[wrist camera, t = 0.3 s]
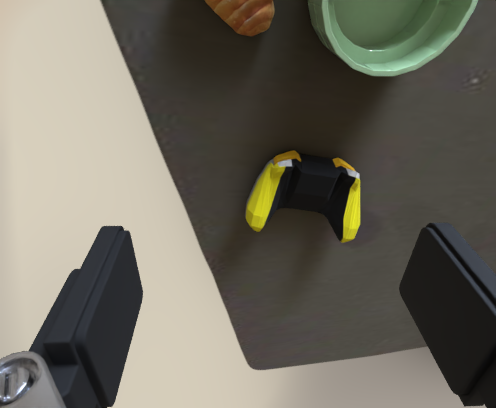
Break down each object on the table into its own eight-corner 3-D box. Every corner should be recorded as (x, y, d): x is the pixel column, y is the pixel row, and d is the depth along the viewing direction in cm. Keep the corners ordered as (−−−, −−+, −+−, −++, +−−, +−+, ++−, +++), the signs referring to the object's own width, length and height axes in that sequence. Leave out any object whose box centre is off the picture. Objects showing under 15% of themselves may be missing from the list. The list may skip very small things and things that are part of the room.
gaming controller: (344, 222, 49) (371, 160, 43) (356, 248, 44) (388, 182, 39) (241, 208, 47) (256, 141, 41) (243, 234, 42) (260, 162, 37)
